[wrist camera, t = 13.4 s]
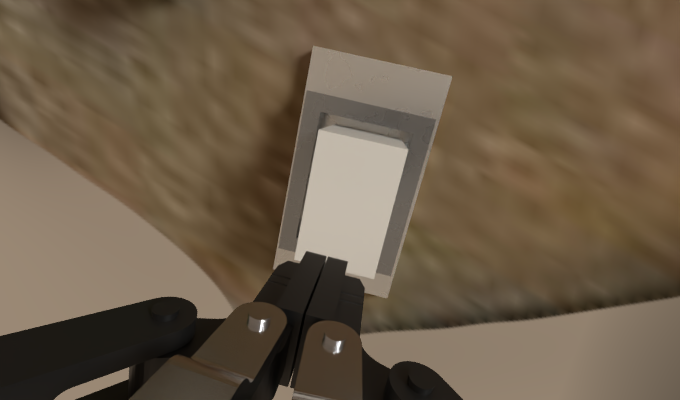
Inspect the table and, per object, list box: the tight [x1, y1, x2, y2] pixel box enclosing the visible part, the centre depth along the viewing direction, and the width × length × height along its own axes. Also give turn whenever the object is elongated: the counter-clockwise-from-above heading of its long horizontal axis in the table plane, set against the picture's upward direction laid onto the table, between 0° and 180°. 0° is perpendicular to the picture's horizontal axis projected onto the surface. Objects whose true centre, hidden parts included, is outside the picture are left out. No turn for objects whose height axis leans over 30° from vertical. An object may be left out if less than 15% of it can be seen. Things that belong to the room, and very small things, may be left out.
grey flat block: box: [273, 46, 452, 298], centre depth 26 cm, size 10×18×3 cm, turn 167°
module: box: [294, 124, 408, 279], centre depth 23 cm, size 5×8×7 cm, turn 168°
